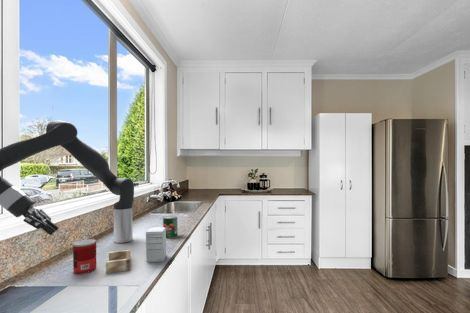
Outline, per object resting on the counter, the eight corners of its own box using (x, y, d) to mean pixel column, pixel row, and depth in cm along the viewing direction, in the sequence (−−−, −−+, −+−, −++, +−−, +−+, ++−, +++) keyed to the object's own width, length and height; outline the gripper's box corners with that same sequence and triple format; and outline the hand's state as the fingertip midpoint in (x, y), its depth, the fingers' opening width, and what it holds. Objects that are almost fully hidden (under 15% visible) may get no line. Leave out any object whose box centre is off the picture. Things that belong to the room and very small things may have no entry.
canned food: (100, 267, 110) (100, 239, 110) (84, 275, 103) (83, 245, 103) (86, 265, 113) (85, 238, 113) (68, 273, 105) (68, 244, 105)
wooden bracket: (105, 273, 104) (105, 262, 104) (109, 261, 116) (109, 252, 116) (130, 269, 107) (129, 259, 107) (130, 258, 119) (130, 249, 119)
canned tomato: (163, 239, 149) (162, 218, 149) (163, 235, 156) (162, 215, 156) (178, 237, 151) (177, 217, 151) (177, 234, 158) (177, 214, 158)
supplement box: (149, 256, 122) (149, 227, 122) (166, 255, 123) (166, 226, 123) (145, 262, 115) (145, 231, 115) (163, 261, 116) (163, 231, 116)
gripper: (16, 196, 95) (58, 228, 99) (31, 191, 108) (67, 220, 112) (-3, 212, 93) (40, 244, 97) (15, 206, 106) (52, 234, 110)
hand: (54, 231), depth 105 cm, fingers open, 3 cm apart
